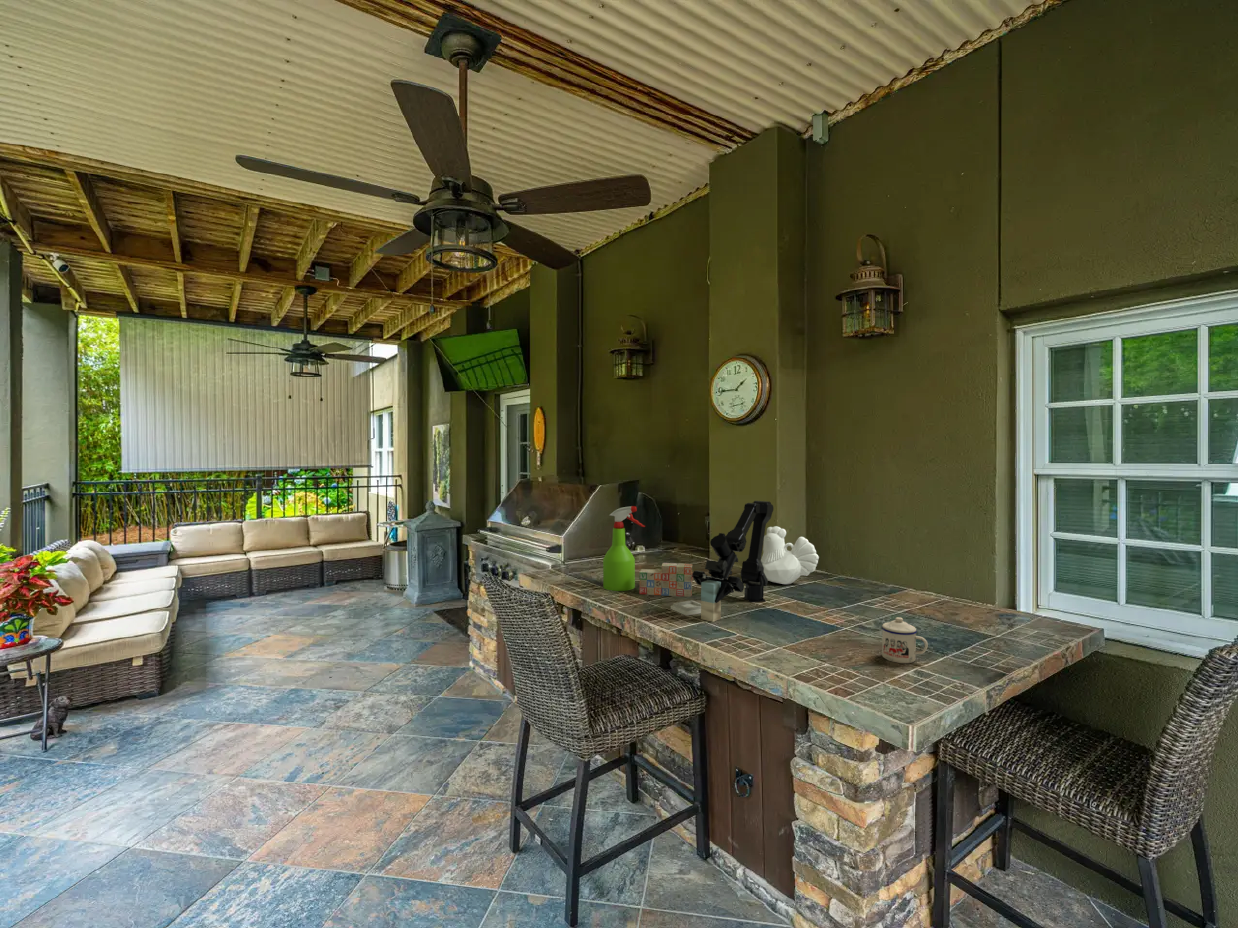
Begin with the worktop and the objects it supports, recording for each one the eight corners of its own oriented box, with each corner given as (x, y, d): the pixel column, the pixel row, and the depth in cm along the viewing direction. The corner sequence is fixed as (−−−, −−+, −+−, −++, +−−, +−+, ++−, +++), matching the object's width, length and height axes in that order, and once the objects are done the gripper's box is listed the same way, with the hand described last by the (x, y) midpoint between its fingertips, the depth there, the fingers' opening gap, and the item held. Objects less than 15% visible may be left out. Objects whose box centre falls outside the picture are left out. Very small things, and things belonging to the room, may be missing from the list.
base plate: (692, 605, 229) (692, 599, 229) (708, 611, 220) (708, 605, 220) (670, 608, 224) (670, 602, 224) (686, 615, 215) (686, 609, 215)
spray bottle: (641, 592, 249) (641, 508, 247) (599, 590, 253) (599, 507, 252) (647, 584, 262) (647, 504, 261) (607, 582, 266) (607, 503, 265)
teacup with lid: (877, 659, 171) (878, 618, 171) (885, 650, 179) (886, 611, 178) (923, 668, 164) (924, 626, 164) (930, 659, 171) (931, 618, 171)
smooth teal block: (708, 615, 214) (708, 579, 214) (720, 618, 211) (721, 581, 211) (700, 618, 211) (701, 582, 210) (713, 621, 207) (713, 584, 207)
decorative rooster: (752, 582, 266) (753, 526, 266) (772, 576, 277) (772, 523, 277) (804, 592, 249) (805, 532, 248) (822, 586, 260) (823, 528, 259)
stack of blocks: (639, 594, 246) (639, 564, 245) (641, 590, 252) (641, 561, 251) (691, 597, 242) (691, 566, 241) (692, 593, 248) (692, 563, 247)
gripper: (694, 548, 219) (677, 583, 211) (740, 554, 207) (724, 591, 199) (705, 566, 226) (689, 601, 217) (750, 573, 214) (735, 610, 205)
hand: (708, 600), depth 210 cm, fingers closed on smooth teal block, 5 cm apart
